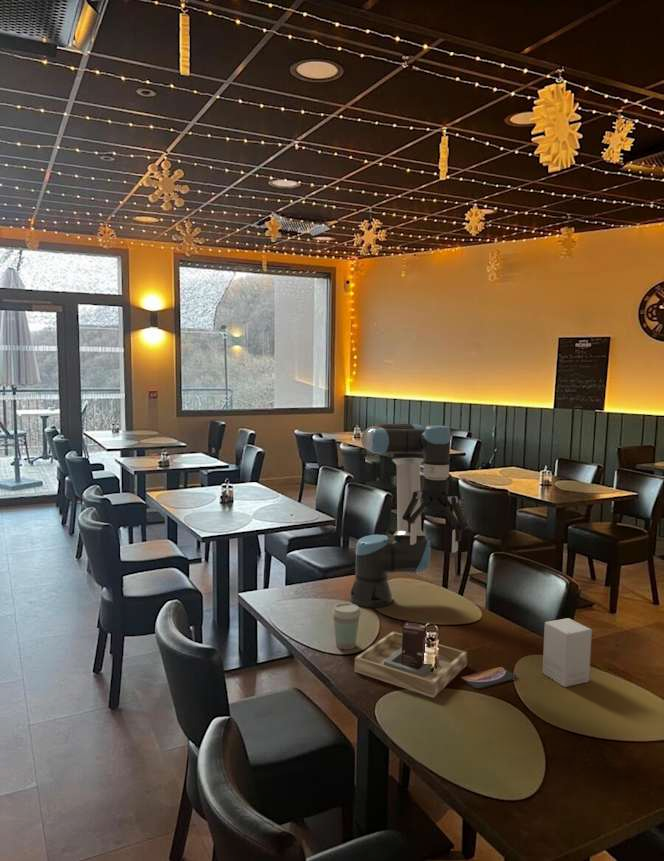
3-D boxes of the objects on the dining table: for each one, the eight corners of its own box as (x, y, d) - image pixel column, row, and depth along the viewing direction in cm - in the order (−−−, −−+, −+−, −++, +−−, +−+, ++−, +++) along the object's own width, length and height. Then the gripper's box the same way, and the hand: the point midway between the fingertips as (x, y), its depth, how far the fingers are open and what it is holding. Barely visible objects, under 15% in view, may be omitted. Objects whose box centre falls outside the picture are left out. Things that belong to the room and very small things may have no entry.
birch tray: (392, 643, 196) (392, 631, 195) (466, 665, 182) (467, 652, 182) (354, 671, 178) (354, 657, 177) (433, 697, 164) (434, 683, 164)
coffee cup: (360, 640, 198) (361, 602, 197) (358, 652, 189) (359, 613, 188) (333, 638, 199) (333, 601, 197) (330, 650, 190) (330, 612, 189)
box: (400, 668, 178) (402, 627, 177) (404, 661, 183) (405, 621, 181) (422, 672, 176) (423, 630, 175) (425, 665, 181) (426, 624, 179)
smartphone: (458, 676, 175) (500, 665, 182) (458, 679, 175) (500, 668, 182) (476, 688, 168) (519, 676, 175) (476, 691, 168) (519, 679, 175)
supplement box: (590, 682, 174) (593, 629, 172) (564, 688, 170) (567, 634, 169) (566, 667, 182) (569, 616, 181) (541, 672, 179) (543, 621, 177)
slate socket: (402, 653, 188) (402, 647, 188) (438, 664, 181) (438, 657, 181) (383, 668, 178) (383, 661, 178) (420, 680, 172) (420, 673, 172)
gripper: (392, 474, 193) (390, 543, 195) (471, 484, 179) (468, 558, 181) (404, 471, 199) (402, 538, 202) (480, 480, 185) (477, 552, 188)
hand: (433, 547), depth 192 cm, fingers open, 13 cm apart
